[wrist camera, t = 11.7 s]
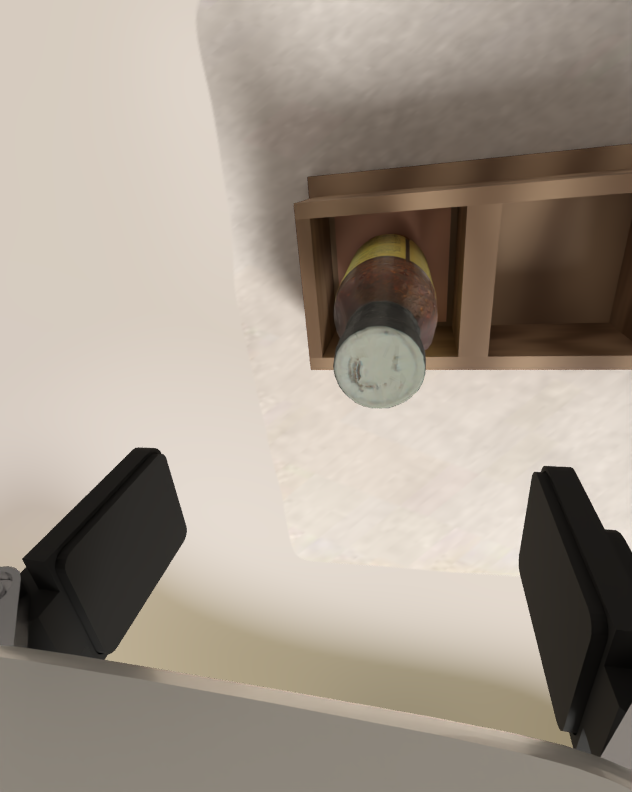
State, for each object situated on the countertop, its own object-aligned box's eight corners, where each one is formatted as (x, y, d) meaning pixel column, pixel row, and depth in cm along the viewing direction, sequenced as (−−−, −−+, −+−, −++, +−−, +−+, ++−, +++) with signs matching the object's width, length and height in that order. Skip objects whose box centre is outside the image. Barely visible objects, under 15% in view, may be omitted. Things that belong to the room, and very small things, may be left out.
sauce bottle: (339, 286, 37) (272, 387, 20) (374, 216, 34) (331, 264, 17) (406, 321, 38) (397, 451, 20) (447, 255, 35) (476, 342, 17)
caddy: (665, 140, 30) (742, 131, 23) (617, 346, 36) (665, 389, 29) (310, 176, 35) (283, 179, 28) (325, 349, 42) (306, 386, 35)
